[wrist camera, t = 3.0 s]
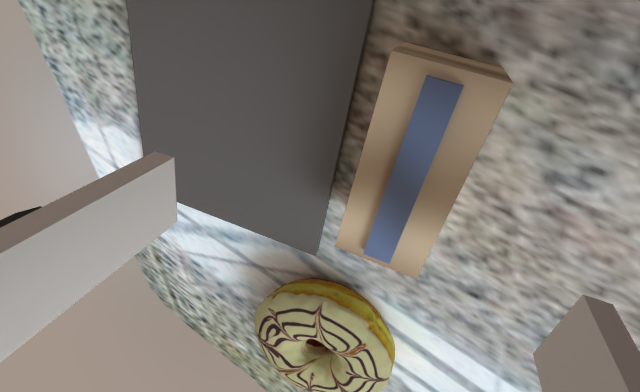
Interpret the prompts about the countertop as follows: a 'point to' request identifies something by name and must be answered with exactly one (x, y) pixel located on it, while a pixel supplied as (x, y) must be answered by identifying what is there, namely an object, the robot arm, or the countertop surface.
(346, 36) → the mat
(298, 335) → the decorated donut
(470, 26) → the countertop surface
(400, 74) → the card box
